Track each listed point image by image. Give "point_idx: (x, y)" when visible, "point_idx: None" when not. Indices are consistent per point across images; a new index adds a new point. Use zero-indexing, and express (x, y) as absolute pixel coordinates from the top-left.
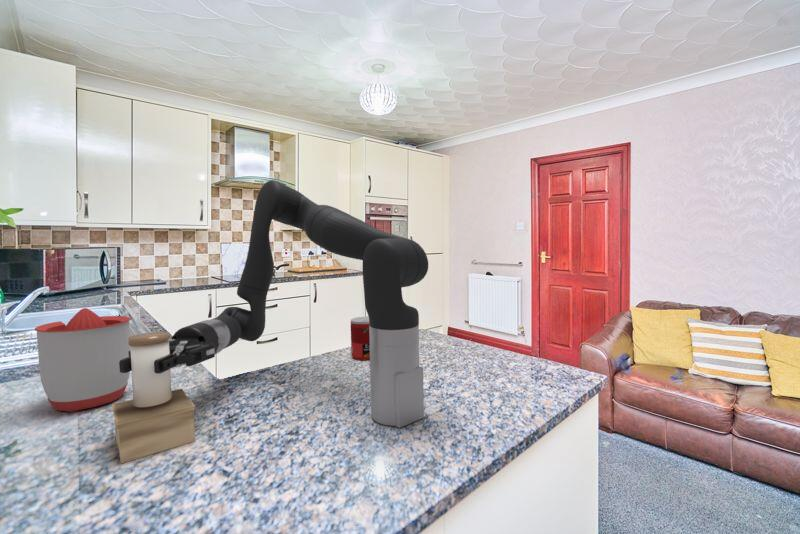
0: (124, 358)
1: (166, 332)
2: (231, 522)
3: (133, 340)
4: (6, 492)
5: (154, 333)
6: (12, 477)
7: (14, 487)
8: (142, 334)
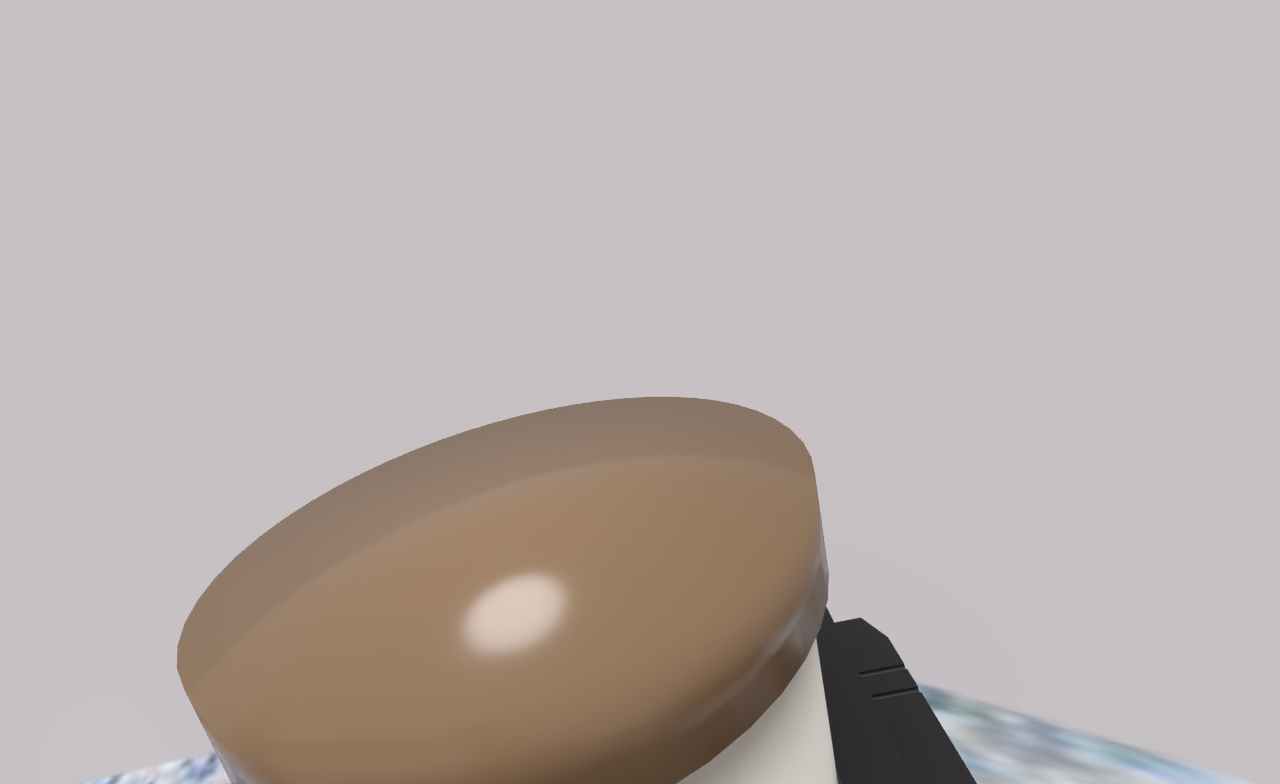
0: (825, 618)
1: (271, 696)
2: (185, 770)
3: (582, 410)
4: (943, 690)
5: (518, 577)
6: (1073, 742)
7: (959, 710)
8: (706, 495)
